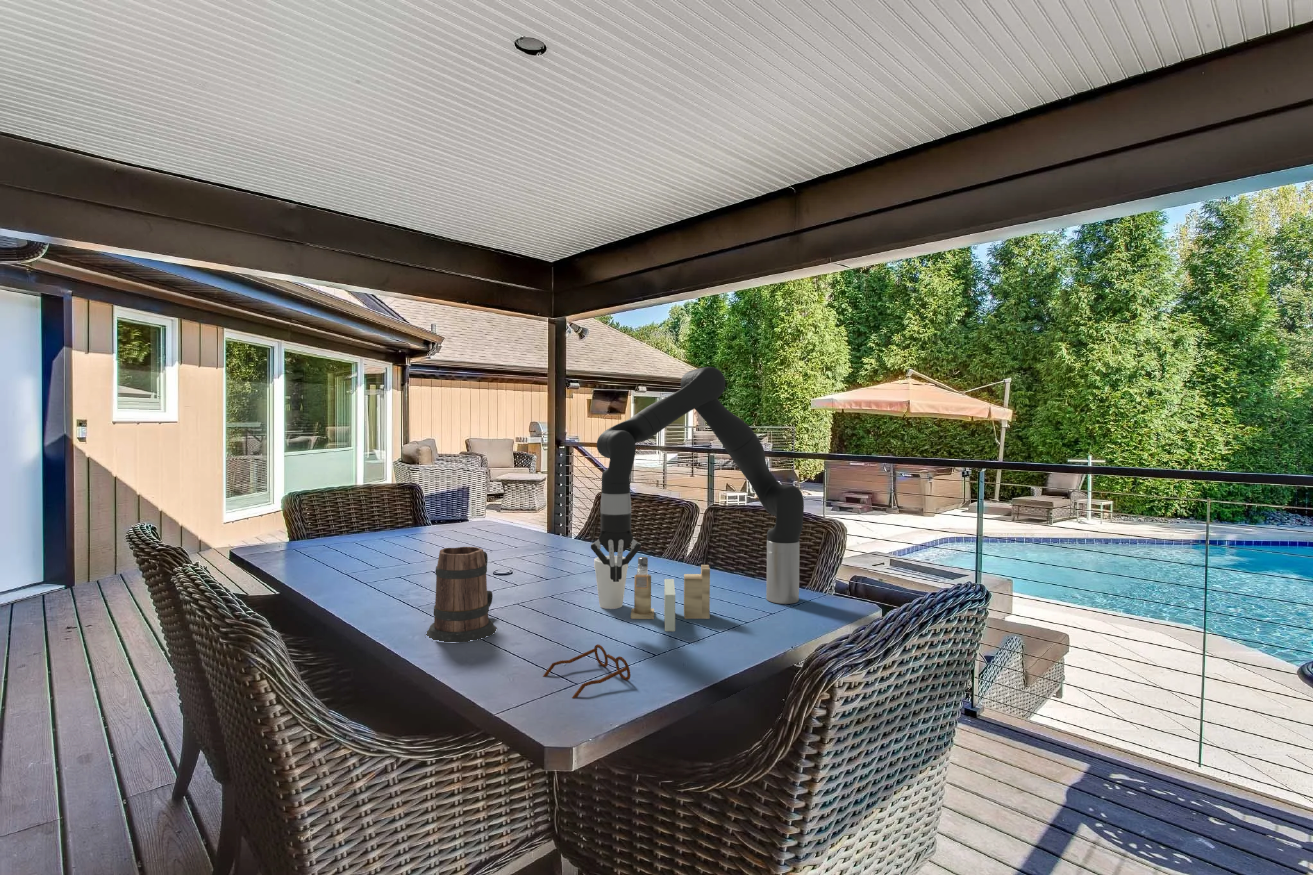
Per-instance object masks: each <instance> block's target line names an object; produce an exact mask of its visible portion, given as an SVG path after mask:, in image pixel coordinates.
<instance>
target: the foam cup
mask: <svg viewBox="0 0 1313 875" xmlns="http://www.w3.org/2000/svg"><path fill="white" fill-rule="evenodd" d="M605 556H606V558H607V559H610V558H609V555H605ZM614 557H615V565H617V555H614ZM625 557H626V556H622V559H624V558H625ZM593 560H594V561H593V566H594V567H593V568H594V570H595V571H594V572H595V580H596V589H597V596H598V603H599V607H600V608H602V609H606V610H614V609H615V610H616V609H620V608H621V607H623V604H624V597H625V596H624V595H625V589H626V582H627V576H628V575H627V574H628V569H629V563H628V564H625V565H623V566H622V578H621V579H619V582H613V580H611V578H610V566H609V565H605V564H603V563H602V561H601V560H600V559H599V558H598V556H597V557H595V558H594V559H593Z"/></svg>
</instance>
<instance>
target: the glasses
mask: <svg viewBox="0 0 1313 875" xmlns="http://www.w3.org/2000/svg"><path fill="white" fill-rule="evenodd" d="M598 649H599V650H601V652H602V654H603V657H604V663H603V662H602V661H601V659H600V656H599V655H598ZM593 653H594V656H595V659H596V661H597V663H598V664H599V666H601V667H603V668H607V667H608V665H609V664H608V663H609V661H608V659H609V660H611V661H613V662H614V664H615V668H616V671H614V672H612V673H609V674H608V675H606V676H604V677H602V678H599V679H596V680H595V679H594V680H589V681H586V682H584V683H582V684H581V685H580V687H579V688H578V689H577V690H576V692H575V693H574V694H573V696H572V697H571V698H572V699H575V698H578V696H579V695H580V694H581V693H582V691H583V690H584V689H585V688H586V687H588V686H592V685H596V684H602V683H603V682H606V681H608V680H610V679H612V678H614V677H616V676H620V678H621V679H623V680H625V681H629V680H630V679H631V670H630V667H629V664H628V662H627V661H626V660H625V658H624V657H622V656H620V655H619V656H617V657H616V658H615V656H612V655H611V654H609V653H607V652H606V650H605V648H604V647H603V646H602V645H601V644H596V645H594V648H593V649H590V650H587V651H586V652H583V653H581V654H579V655H577V656H575V657H572V658H570V659H565V660H563V659H562V660H558V661H555V662H552V663H551V665H550V666H549V667H548V669H547V670H546V671H545V673H544V674H543V676H542V677H548V676H549V674H550V673H551V672H552V670H553V669H554V668H555V666H558V665H562V664H571V663H574V662H576V661H578V660H581V659H582V658H585V657H587V656H589V655H591V654H593ZM619 661H621V662H622V663H623V665H624V667H622V668H620V664H619ZM624 672H626V673H627V675H626V676H625V675H624Z"/></svg>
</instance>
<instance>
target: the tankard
mask: <svg viewBox="0 0 1313 875" xmlns="http://www.w3.org/2000/svg"><path fill="white" fill-rule="evenodd" d="M438 554H439V555H438V559H437V566H435V576H436V580H435V581H436V582H435V598H434V599H435V604H434V606H433V616H434V621H433V623H431V625H430V626H429V628H428V630H427V631H426V632H427V634H426V635H427V636H429V638H432V639H433V640H439V641H444V642H467V643H469V642H468V641H470V640H477V639H478V641H480V640H479V639H481V638H485V637H486V636H490V635H492V634H493V633H495V631H496V629H497V630H498V628H497V626H496V625H495V624H494V622H493V621H492V620H491V618H489V612H490V607H491V605H492V603H493V592H492V591H491V590H488V582H487V572H488V553H487V552H486V551H484V549H483V548H480V547H477V546H460V547H459V546H458V547H446V548H441V549H440V550H439V553H438ZM495 634H496V633H495ZM493 635H494V634H493ZM493 635H492V636H493ZM490 637H491V636H490ZM485 639H486V638H485ZM481 640H482V639H481Z"/></svg>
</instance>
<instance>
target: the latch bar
mask: <svg viewBox="0 0 1313 875" xmlns="http://www.w3.org/2000/svg"><path fill="white" fill-rule="evenodd" d="M648 566H649V557H647V556H639V557H637V570H636V574H634V578H635V588H642V589H648V575H649V574H648V570H649V569H648V568H649V567H648Z"/></svg>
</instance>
